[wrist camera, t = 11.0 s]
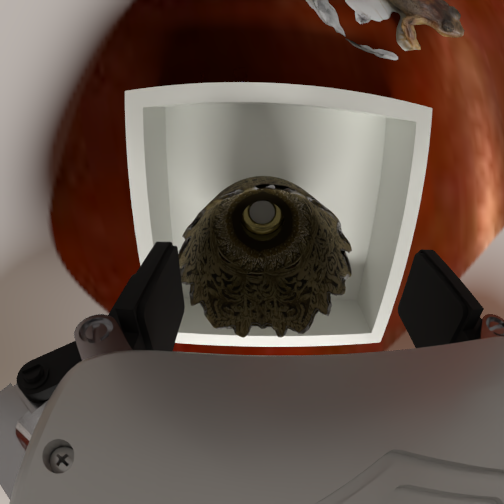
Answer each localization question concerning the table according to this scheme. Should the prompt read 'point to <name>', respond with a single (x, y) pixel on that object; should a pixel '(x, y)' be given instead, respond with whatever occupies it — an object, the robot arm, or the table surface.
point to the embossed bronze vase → (264, 258)
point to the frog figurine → (411, 13)
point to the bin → (288, 168)
